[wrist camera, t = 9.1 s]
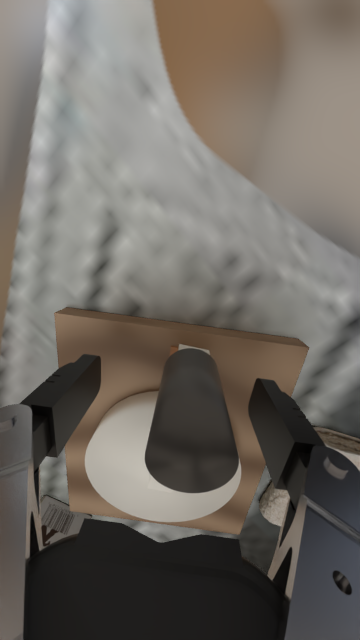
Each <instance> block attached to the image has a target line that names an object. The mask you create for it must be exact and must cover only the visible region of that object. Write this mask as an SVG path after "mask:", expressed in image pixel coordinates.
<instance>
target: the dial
mask: <svg viewBox="0 0 360 640" xmlns="http://www.w3.org/2000/svg"><path fill="white" fill-rule="evenodd" d="M85 468H86V473H87V476H88V478H89V480H90V482H91V484H92V486H93V487H94V489H95V490H96V491H97V492H98V493H99V494H100V496H101V497H102V498H104V499H105V500H106V501H107V502H108V503H110V504H111V505H113V506H114V507H116V508H117V509H119V510H121V511H123V512H125V513H128V514H130V515H132V516H135V517H139V518H142V519H146V520H151V521H158V522H182V521H189V520H194V519H198V518H201V517H204V516H206V515H209V514H211V513H213V512H215V511H217V510H218V509H220V508H221V507H222V506H224V505H225V504H226V503H227V502H228V501H229V500H230V499H231V498H232V496H233V495H234V494H235V492H236V490H237V488H238V486H239V483H240V479H241V464H240V460H239V455H238V451H237V447H236V443H235V439H234V435H233V431H232V426H231V422H230V418H229V414H228V410H227V405H226V401H225V397H224V393H223V389H222V384H221V380H220V376H219V372H218V368H217V364H216V362H215V360H214V359H213V358H212V357H211V356H210V352H209V350H206V349H201V348H196V347H192V346H187V345H182V344H179V348H178V351H177V352H175V353H173V354H172V355H171V356H170V357H169V358H168V359H167V361H166V363H165V366H164V370H163V374H162V379H161V383H160V388H159V391H152V392H145V393H139V394H136V395H133V396H130V397H128V398H126V399H123V400H121V401H120V402H118V403H117V404H115V405H114V406H113V407H112V408H110V409H109V410H108V411H107V413H106V414H105V415H104V416H103V418H102V420H101V421H100V423H99V425H98V427H97V429H96V431H95V433H94V435H93V437H92V438H91V440H90V442H89V444H88V447H87V450H86V454H85Z"/></svg>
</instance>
